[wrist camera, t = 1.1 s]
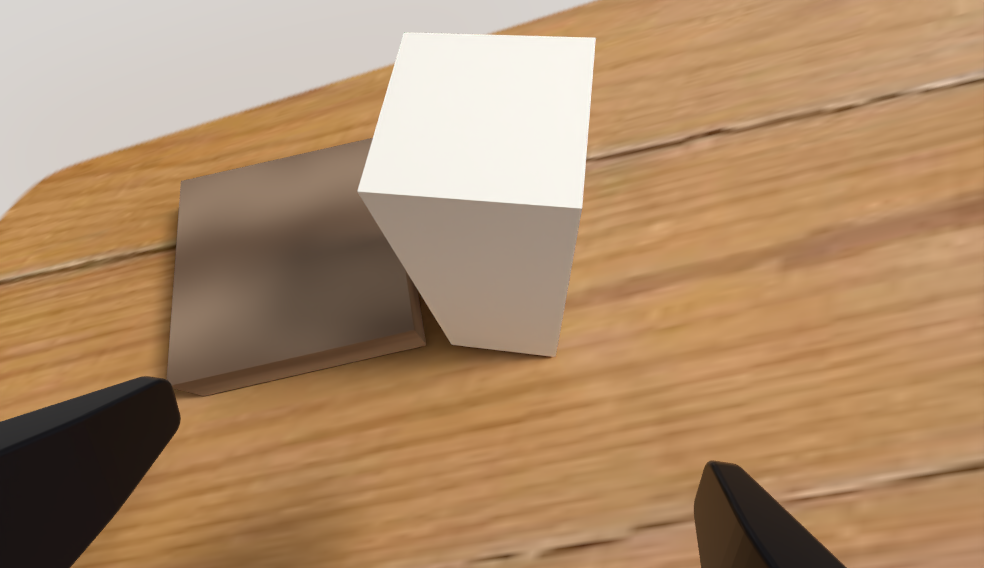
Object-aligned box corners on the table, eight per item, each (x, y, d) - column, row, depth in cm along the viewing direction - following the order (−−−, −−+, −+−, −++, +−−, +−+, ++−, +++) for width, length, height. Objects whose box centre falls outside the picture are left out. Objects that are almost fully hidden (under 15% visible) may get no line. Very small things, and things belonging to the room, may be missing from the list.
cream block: (555, 357, 22) (582, 208, 10) (451, 344, 22) (357, 191, 10) (564, 260, 24) (595, 37, 12) (468, 252, 24) (403, 32, 12)
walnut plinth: (426, 345, 22) (414, 330, 20) (203, 395, 22) (165, 386, 20) (397, 164, 27) (385, 135, 25) (211, 206, 27) (180, 181, 24)
